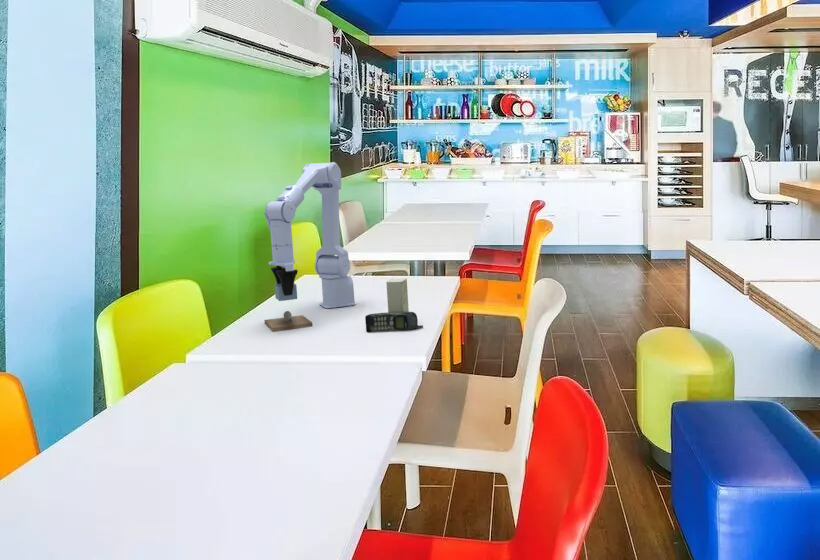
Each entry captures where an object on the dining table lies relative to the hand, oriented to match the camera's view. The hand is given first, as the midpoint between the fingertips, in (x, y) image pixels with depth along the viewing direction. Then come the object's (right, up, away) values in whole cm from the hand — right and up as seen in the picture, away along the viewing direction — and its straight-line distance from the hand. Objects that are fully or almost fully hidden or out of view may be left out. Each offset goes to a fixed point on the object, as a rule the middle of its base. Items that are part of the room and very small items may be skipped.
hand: (285, 293), depth 205 cm
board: (0, -9, +2) cm, 9 cm away
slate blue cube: (0, -1, 0) cm, 1 cm away
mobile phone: (+30, -10, -10) cm, 33 cm away
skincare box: (+31, -8, -3) cm, 33 cm away
